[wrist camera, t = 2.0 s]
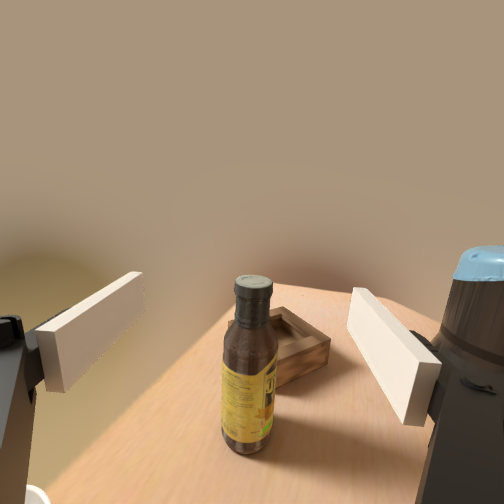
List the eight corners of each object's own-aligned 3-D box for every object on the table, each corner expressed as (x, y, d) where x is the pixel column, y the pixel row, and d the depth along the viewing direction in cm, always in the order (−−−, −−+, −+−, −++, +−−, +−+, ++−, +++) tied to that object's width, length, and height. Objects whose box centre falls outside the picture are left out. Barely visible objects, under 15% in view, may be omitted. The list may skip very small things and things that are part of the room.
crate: (281, 327, 54) (282, 306, 52) (327, 363, 43) (330, 338, 42) (227, 344, 47) (228, 321, 45) (266, 393, 36) (268, 364, 35)
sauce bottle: (273, 459, 27) (288, 295, 22) (217, 456, 27) (219, 292, 22) (269, 408, 34) (280, 272, 28) (224, 407, 34) (227, 269, 28)
